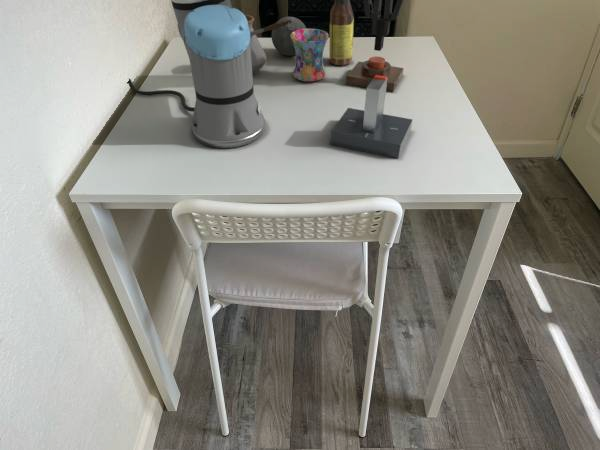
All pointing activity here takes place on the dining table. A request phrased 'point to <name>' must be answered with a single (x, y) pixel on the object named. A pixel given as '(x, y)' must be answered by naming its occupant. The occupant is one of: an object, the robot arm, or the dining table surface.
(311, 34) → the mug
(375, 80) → the tap handle
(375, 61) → the button
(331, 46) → the sauce bottle
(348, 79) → the button block
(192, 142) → the dining table surface
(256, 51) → the coffee pot
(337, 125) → the panel
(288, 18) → the decorative ball
